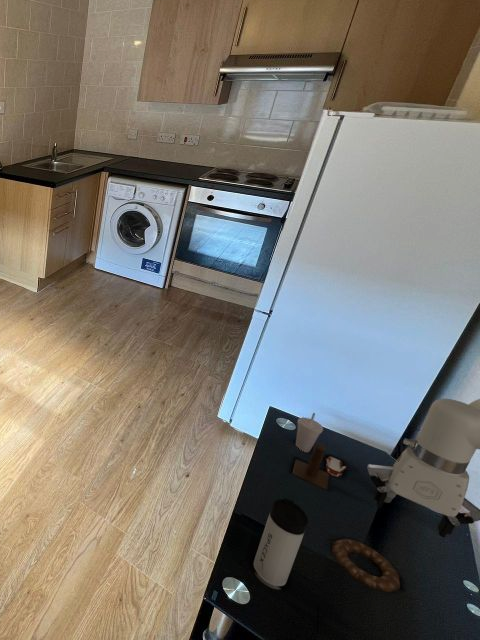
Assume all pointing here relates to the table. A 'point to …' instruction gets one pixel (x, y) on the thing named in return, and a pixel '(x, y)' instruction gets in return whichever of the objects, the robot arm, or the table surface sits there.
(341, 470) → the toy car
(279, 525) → the travel mug
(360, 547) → the ring
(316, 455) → the brown t-shaped piece
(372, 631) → the table surface
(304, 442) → the smoothie
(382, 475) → the lightbulb
